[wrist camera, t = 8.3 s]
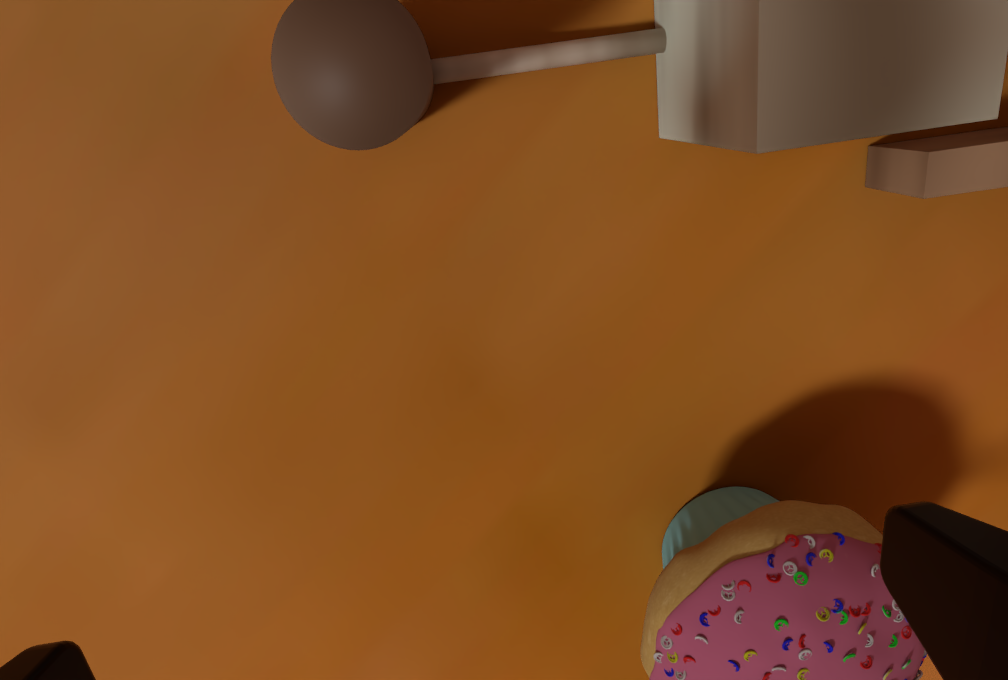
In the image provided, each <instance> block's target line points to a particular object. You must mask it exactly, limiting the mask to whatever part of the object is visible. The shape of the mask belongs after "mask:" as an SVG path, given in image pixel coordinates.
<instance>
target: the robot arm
mask: <svg viewBox="0 0 1008 680" xmlns="http://www.w3.org/2000/svg"><path fill="white" fill-rule="evenodd" d="M880 571H881V575H882V579H883V581H884V584H885V586H886V588H887V589H888V591H889V593H890V594H891V596H892V598H893V599H894V601H895V602H896V604H897V606H898V607H899V609H900V611H901V612H902V614H903V615H904V617H905V619H906V620H907V622H908V623H909V625H910V627H911V628H912V630H913V632H914V633H915V635H916V636H917V638H918V640H919V641H920V643H921V644H922V646H923V648H924V649H925V651H926V653H927V654H928V656H929V657H930V659H931V661H932V662H933V664H934V665H935V667H936V669H937V670H938V672H939V674H940V675H941V677H942V678H943V680H1008V531H1005V530H1003V529H1000V528H997V527H995V526H992V525H990V524H987V523H984V522H982V521H979V520H976V519H974V518H971V517H969V516H966V515H963V514H961V513H958V512H955V511H953V510H950V509H947V508H945V507H942V506H940V505H937V504H934V503H931V502H915V503H909V504H903V505H897V506H894V507H892V508H890V509H889V510H888V512H887V513H886V516H885V522H884V530H883V539H882V548H881V556H880ZM0 680H96V679H95V677H94V675H93V673H92V671H91V669H90V667H89V665H88V663H87V661H86V659H85V657H84V654H83V652H82V650H81V649H80V647H79V646H78V645H77V644H75V643H74V642H72V641H60V642H54V643H48V644H42V645H36V646H33V647H30V648H28V649H26V650H24V651H23V652H21V653H20V654H18V655H17V656H16V657H14V658H13V659H12V660H10V661H9V662H7V663H6V664H5V665H3V666H2V667H0Z"/></svg>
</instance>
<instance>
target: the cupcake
mask: <svg viewBox="0 0 1008 680" xmlns="http://www.w3.org/2000/svg"><path fill="white" fill-rule="evenodd" d="M882 539H883V535H882V534H881V533H880V532H879V531H878V530H877V529H876V528H874V527H873V526H872V525H871V524H870V523H869V522H868V521H866V520H865V519H864V518H863V517H861V516H860V515H859V514H857V513H856V512H854V511H852V510H851V509H849V508H846V507H844V506H840V505H834V504H830V505H826V504H817V503H811V502H805V501H798V500H786V501H779V500H777V499H775V498H773V497H772V496H770V495H768V494H766V493H764V492H762V491H760V490H757V489H753V488H748V487H725V488H720V489H716V490H713V491H710V492H707V493H705V494H703V495H701V496H699V497H697V498H695V499H694V500H692V501H691V502H689V503H688V504H687V505H685V506H684V507H683V508H682V509H681V510H680V511H679V512H678V513H677V514H676V516H675V517H674V518H673V520H672V521H671V523H670V524H669V526H668V528H667V530H666V533H665V536H664V539H663V545H662V559H663V571H662V572H661V574H660V575H659V577H658V579H657V581H656V583H655V586H654V588H653V590H652V592H651V595H650V597H649V601H648V605H647V610H646V615H645V621H644V627H643V635H642V642H641V660H642V664H643V666H644V669H645V671H646V673H647V674H648V676H649V678H650V680H919V679H920V678H921V677H922V675H923V672H922V671H921V670H919V667H920V666H921V664H922V663H923V661H924V658H925V657H926V655H927V653H926V651H925V649H924V648H923V646H922V644H921V643H920V641H919V640H918V638H917V636H916V635H915V633H914V632H913V630H912V628H911V627H910V625H909V623H908V622H907V620H906V619H905V617H904V615H903V614H902V612H901V611H900V609H899V607H898V606H897V604H896V602H895V601H894V599H893V598H892V596H891V594H890V593H889V591H888V589H887V588H886V586H885V584H884V581H883V579H882V575H881V571H880V556H881V548H882ZM918 675H919V676H918ZM915 677H916V678H915Z"/></svg>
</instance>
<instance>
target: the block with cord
mask: <svg viewBox="0 0 1008 680" xmlns="http://www.w3.org/2000/svg"><path fill="white" fill-rule="evenodd" d="M654 12H655V29H650V30H643V31H635V32H628V33H621V34H613V35H606V36H599V37H591V38H584V39H577V40H569V41H562V42H554V43H547V44H540V45H532V46H525V47H518V48H510V49H503V50H496V51H488V52H481V53H473V54H466V55H459V56H451V57H444V58H437V59H430V56H429V52H428V48H427V45H426V42H425V39H424V36H423V34H422V32H421V30H420V28H419V26H418V24H417V23H416V21H415V20H414V18H413V17H412V15H411V14H410V13H409V12H408V11H407V9H406V8H405V7H404V6H403V5H402V4H401V3H400V2H399V1H398V0H294V1H293V2H292V3H291V4H290V5H289V7H288V8H287V9H286V11H285V12H284V14H283V15H282V17H281V19H280V21H279V23H278V25H277V28H276V31H275V34H274V39H273V44H272V54H271V61H272V72H273V77H274V81H275V85H276V88H277V91H278V93H279V95H280V98H281V100H282V102H283V104H284V105H285V107H286V109H287V110H288V112H289V113H290V114H291V116H292V117H293V118H294V120H295V121H296V122H297V123H298V124H299V125H300V126H301V127H302V128H303V129H305V130H306V131H307V132H308V133H309V134H311V135H312V136H314V137H316V138H317V139H319V140H321V141H323V142H325V143H327V144H329V145H332V146H335V147H338V148H343V149H348V150H368V149H373V148H378V147H381V146H383V145H386V144H388V143H390V142H392V141H394V140H396V139H397V138H399V137H400V136H401V135H403V134H404V133H405V132H406V131H408V130H409V129H410V128H411V127H412V126H414V125H415V124H416V123H417V122H418V121H419V120H420V119H421V118H422V117H423V115H424V114H425V113H426V111H427V109H428V107H429V105H430V103H431V100H432V96H433V91H434V84H440V83H447V82H454V81H461V80H469V79H476V78H483V77H491V76H498V75H505V74H512V73H520V72H527V71H534V70H542V69H549V68H556V67H563V66H571V65H578V64H585V63H592V62H600V61H607V60H614V59H622V58H629V57H636V56H643V55H651V54H656V65H657V91H658V118H659V138H664V139H670V140H676V141H682V142H688V143H694V144H701V145H707V146H713V147H719V148H725V149H731V150H737V151H744V152H750V153H756V154H758V153H765V152H771V151H778V150H785V149H792V148H799V147H806V146H813V145H820V144H827V143H834V142H840V141H847V140H854V139H861V138H868V137H875V136H882V135H889V134H896V133H902V132H909V131H916V130H923V129H930V128H937V127H944V126H951V125H958V124H965V123H971V122H978V121H985V120H992V119H998V114H999V107H1000V100H1001V93H1002V86H1003V80H1004V73H1005V66H1006V59H1007V52H1008V0H654Z"/></svg>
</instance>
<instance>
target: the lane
mask: <svg viewBox="0 0 1008 680" xmlns="http://www.w3.org/2000/svg"><path fill="white" fill-rule="evenodd" d="M865 187H868V188H873V189H878V190H883V191H888V192H893V193H898V194H903V195H908V196H913V197H918V198H923V199H925V198H932V197H939V196H946V195H953V194H960V193H967V192H974V191H981V190H988V189H995V188H1002V187H1008V127H1001V128H994V129H987V130H980V131H972V132H965V133H958V134H951V135H944V136H936V137H929V138H922V139H915V140H908V141H901V142H893V143H886V144H879V145H872V146H868V158H867V171H866V183H865Z"/></svg>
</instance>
